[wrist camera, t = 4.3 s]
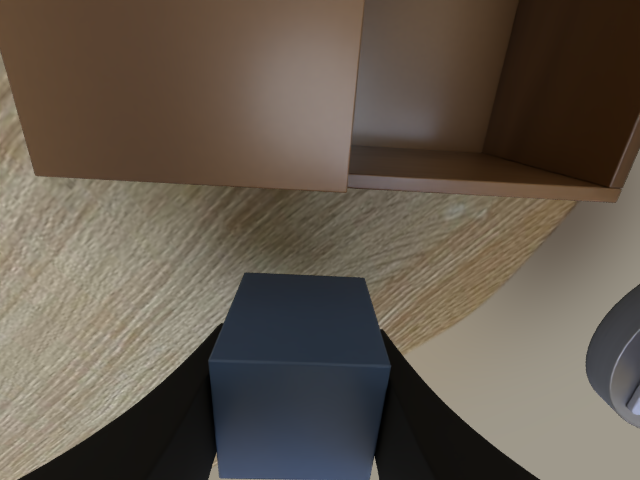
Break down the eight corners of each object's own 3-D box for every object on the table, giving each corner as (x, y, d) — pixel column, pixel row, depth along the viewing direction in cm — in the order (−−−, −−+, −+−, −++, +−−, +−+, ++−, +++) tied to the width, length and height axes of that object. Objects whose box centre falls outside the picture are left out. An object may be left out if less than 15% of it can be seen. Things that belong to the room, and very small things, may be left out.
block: (364, 276, 12) (391, 366, 8) (352, 368, 14) (370, 482, 10) (244, 271, 12) (207, 360, 8) (247, 365, 14) (218, 479, 9)
